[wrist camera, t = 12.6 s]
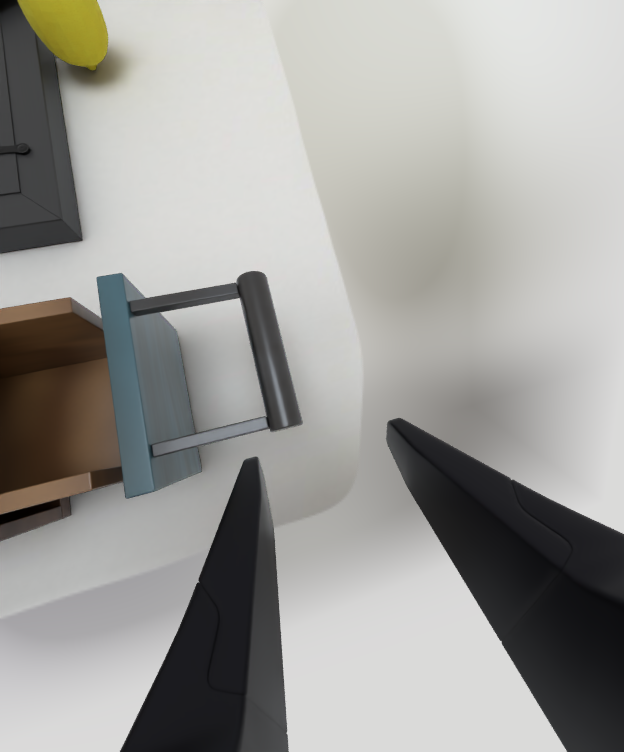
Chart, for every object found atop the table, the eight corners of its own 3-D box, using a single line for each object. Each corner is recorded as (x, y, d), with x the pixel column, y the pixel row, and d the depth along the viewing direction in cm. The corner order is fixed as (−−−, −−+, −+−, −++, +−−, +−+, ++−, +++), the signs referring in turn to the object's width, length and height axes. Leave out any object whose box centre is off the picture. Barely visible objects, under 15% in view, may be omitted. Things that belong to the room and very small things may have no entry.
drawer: (267, 312, 23) (260, 247, 15) (299, 445, 21) (310, 449, 13) (-14, 366, 20) (-205, 319, 12) (-6, 526, 18) (-224, 594, 10)
